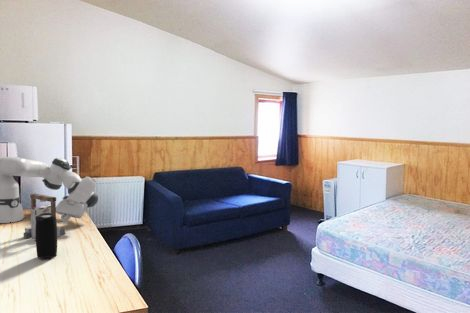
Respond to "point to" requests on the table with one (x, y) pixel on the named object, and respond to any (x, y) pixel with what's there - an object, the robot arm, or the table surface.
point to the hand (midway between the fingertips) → (61, 222)
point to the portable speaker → (46, 236)
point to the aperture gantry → (43, 199)
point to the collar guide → (29, 235)
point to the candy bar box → (36, 212)
